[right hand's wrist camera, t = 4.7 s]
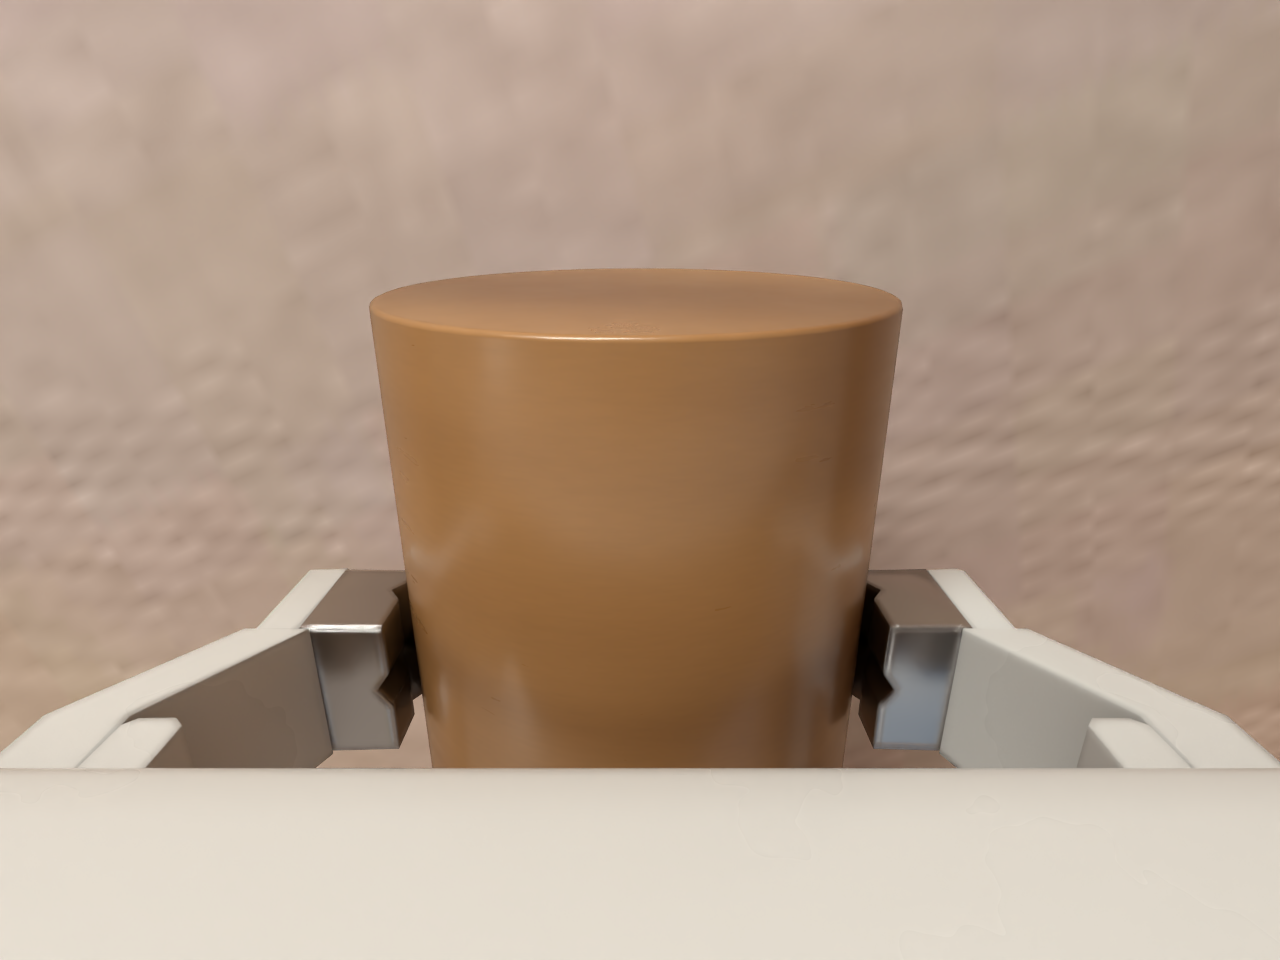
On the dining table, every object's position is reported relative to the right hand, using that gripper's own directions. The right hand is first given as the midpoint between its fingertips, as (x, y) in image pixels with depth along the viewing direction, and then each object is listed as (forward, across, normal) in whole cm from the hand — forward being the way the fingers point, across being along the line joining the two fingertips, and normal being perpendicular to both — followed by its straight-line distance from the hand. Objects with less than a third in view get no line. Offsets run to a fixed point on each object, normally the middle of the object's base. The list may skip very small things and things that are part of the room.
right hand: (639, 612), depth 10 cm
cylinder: (+3, +1, -7) cm, 8 cm away
